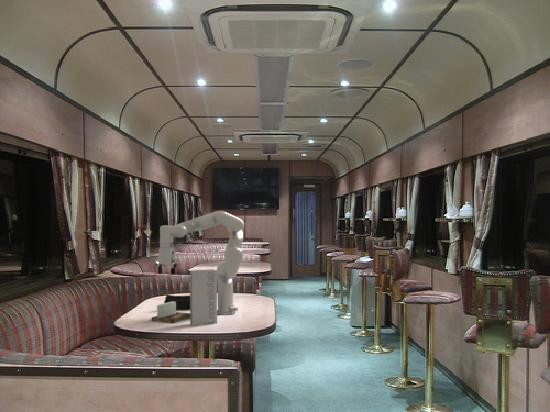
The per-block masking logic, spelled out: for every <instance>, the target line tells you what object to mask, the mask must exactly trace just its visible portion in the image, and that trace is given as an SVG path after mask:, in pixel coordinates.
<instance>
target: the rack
mask: <svg viewBox="0 0 550 412" xmlns="http://www.w3.org/2000/svg"><path fill="white" fill-rule="evenodd" d="M179 313H182V312H180V311H179V312H178V311H176V314H179ZM185 313H186V315H184V316H181V317H178V318H175V319H170V318H171V316H174V315H176V314H173V315H169V316H166V317H162V318H157V315H155V316H152V317H151V322H158V321H159V322H160V323H167V324H169V323H170V324H174V323H177V322H178V323H179V322H180V321H184V320H187V319H190V312H185ZM159 322H158V323H159Z"/></svg>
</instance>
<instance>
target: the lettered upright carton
mask: <svg viewBox="0 0 550 412" xmlns="http://www.w3.org/2000/svg"><path fill="white" fill-rule="evenodd" d="M189 295H190V310H189V313H190V318H189V319H190V320H189V324H190V325H191V326H192V327H194V326H205V325H212V324H213V325H214V324H218V314H217V310H218V279H217V269H213V268H212V269H210V268H209V269H193V270H191V269H190V270H189Z"/></svg>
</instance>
